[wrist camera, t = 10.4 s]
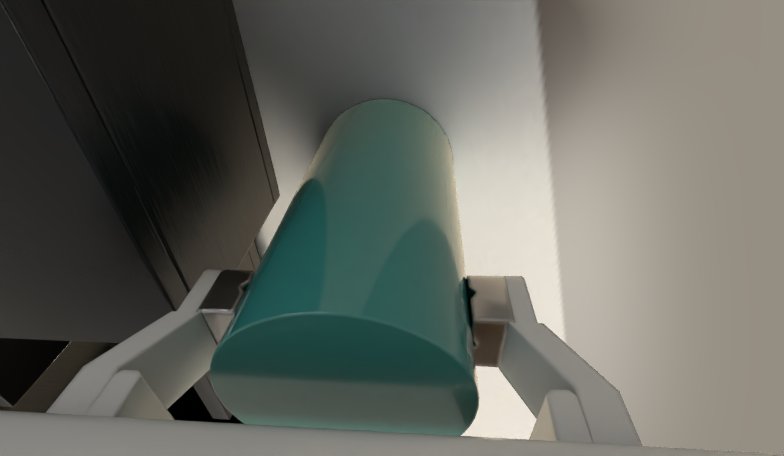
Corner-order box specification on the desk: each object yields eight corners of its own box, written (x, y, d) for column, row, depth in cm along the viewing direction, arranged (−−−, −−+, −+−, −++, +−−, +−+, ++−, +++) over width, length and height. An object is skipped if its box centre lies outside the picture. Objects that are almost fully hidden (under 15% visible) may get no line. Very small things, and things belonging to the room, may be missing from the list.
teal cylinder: (457, 97, 15) (496, 319, 6) (448, 218, 19) (467, 467, 10) (312, 99, 16) (164, 308, 7) (330, 216, 19) (248, 453, 10)
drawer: (308, 372, 26) (277, 488, 21) (134, 364, 27) (60, 472, 21) (228, 89, 15) (113, 179, 9) (-66, 93, 16) (-327, 176, 10)
